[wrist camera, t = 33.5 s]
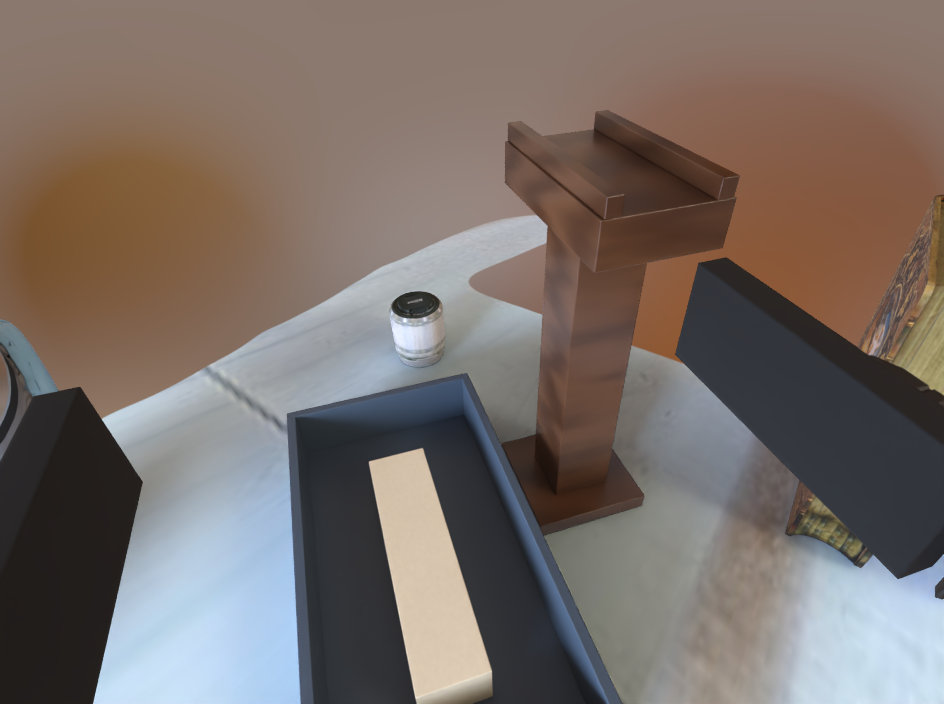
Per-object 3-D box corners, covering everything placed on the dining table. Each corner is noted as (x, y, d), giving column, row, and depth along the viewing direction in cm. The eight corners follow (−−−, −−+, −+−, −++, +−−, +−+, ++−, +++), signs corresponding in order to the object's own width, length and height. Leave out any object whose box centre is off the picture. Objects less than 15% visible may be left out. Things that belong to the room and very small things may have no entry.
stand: (494, 439, 56) (491, 124, 36) (582, 416, 58) (623, 108, 38) (549, 557, 45) (584, 200, 26) (654, 524, 47) (760, 172, 28)
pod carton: (375, 490, 48) (368, 461, 46) (426, 476, 50) (422, 447, 47) (421, 722, 34) (415, 698, 32) (492, 696, 35) (492, 671, 33)
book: (815, 423, 56) (935, 190, 40) (877, 445, 53) (1030, 204, 38) (782, 540, 45) (926, 287, 30) (857, 574, 43) (1057, 316, 27)
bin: (304, 462, 54) (286, 413, 50) (469, 421, 58) (467, 372, 53) (335, 876, 30) (307, 851, 26) (614, 761, 34) (631, 722, 29)
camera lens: (389, 347, 69) (381, 295, 64) (435, 333, 71) (430, 282, 66) (406, 375, 64) (398, 321, 59) (454, 360, 66) (450, 306, 61)
